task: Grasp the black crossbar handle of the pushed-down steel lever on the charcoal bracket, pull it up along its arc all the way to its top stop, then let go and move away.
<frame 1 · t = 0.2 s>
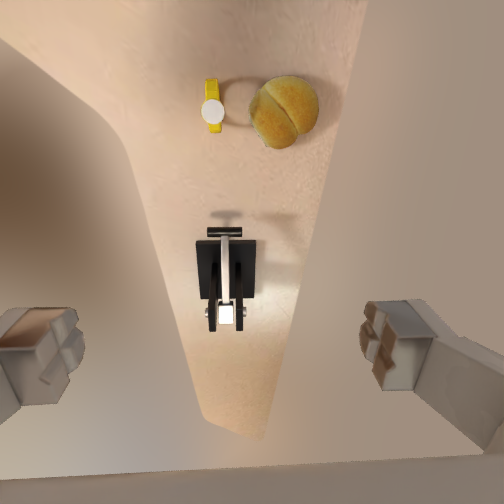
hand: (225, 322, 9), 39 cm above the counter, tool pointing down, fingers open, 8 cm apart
watch: (214, 103, 41), on the counter
bread roll: (281, 112, 42), on the counter
bracket: (226, 269, 55), on the counter
lever: (225, 275, 45), point 9 cm above the counter, hinge at -26.0°
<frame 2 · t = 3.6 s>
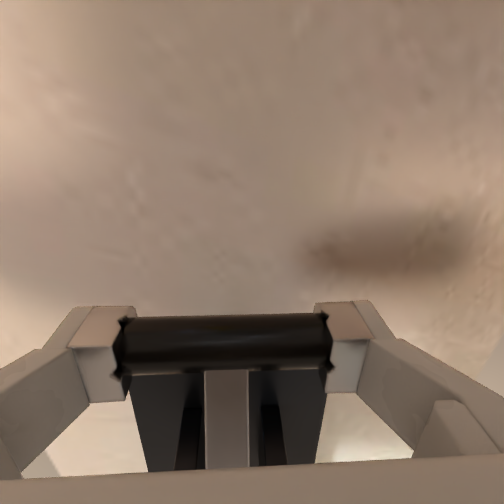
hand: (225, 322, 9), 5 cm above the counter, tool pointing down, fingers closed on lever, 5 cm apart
bracket: (231, 413, 18), on the counter
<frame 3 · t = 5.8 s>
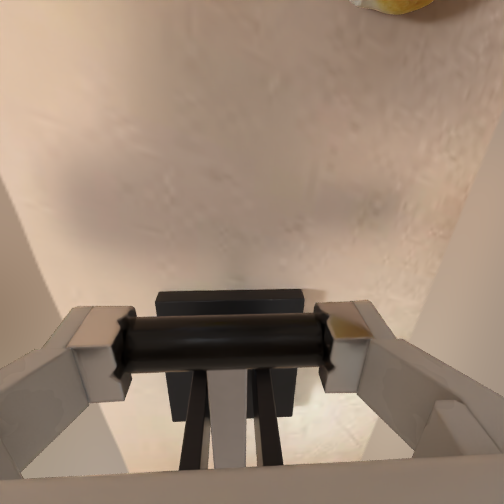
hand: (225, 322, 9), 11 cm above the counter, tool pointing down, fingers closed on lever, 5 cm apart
bracket: (232, 354, 24), on the counter
lever: (230, 464, 11), point 11 cm above the counter, hinge at 3.8°, touching gripper
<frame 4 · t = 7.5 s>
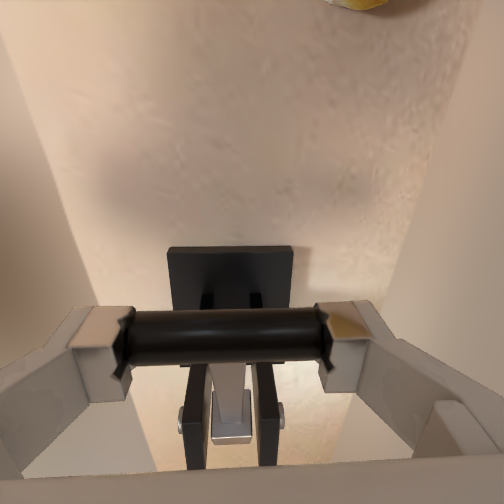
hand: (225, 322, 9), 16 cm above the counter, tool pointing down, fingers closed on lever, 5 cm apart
bracket: (231, 306, 28), on the counter
lever: (230, 393, 14), point 14 cm above the counter, hinge at 26.7°, touching gripper
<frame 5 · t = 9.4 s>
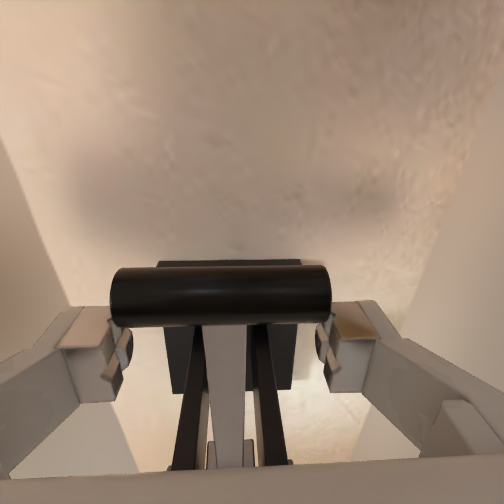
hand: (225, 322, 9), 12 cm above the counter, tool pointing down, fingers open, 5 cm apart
bracket: (231, 326, 24), on the counter
lever: (228, 421, 11), point 12 cm above the counter, hinge at 9.3°
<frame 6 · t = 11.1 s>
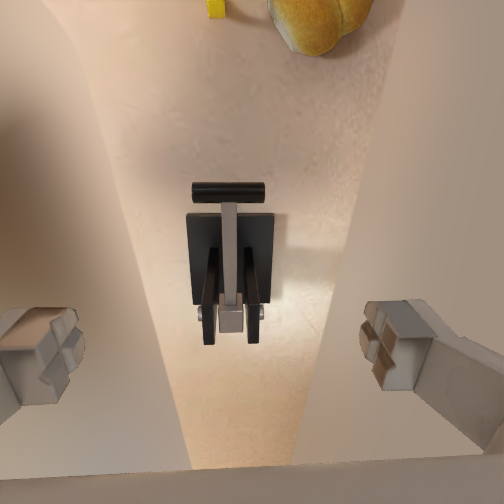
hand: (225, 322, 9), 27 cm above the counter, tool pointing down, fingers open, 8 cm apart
bread roll: (315, 1, 28), on the counter
bracket: (231, 258, 38), on the counter
lever: (230, 264, 25), point 12 cm above the counter, hinge at 9.3°
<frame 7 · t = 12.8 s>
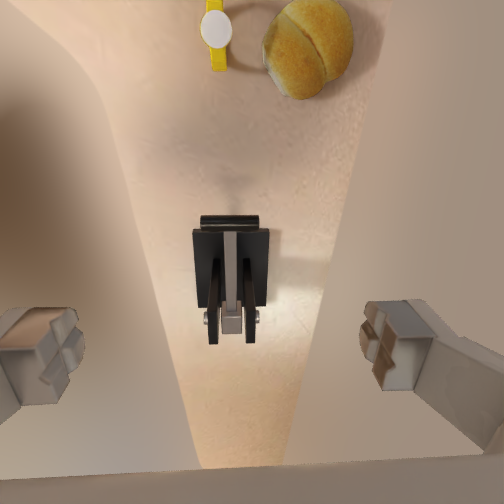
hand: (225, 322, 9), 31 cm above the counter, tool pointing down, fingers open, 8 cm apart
watch: (218, 39, 32), on the counter
bread roll: (303, 52, 33), on the counter
bracket: (231, 267, 44), on the counter
lever: (231, 278, 31), point 12 cm above the counter, hinge at 9.3°
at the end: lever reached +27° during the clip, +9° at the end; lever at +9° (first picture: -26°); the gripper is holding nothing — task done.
